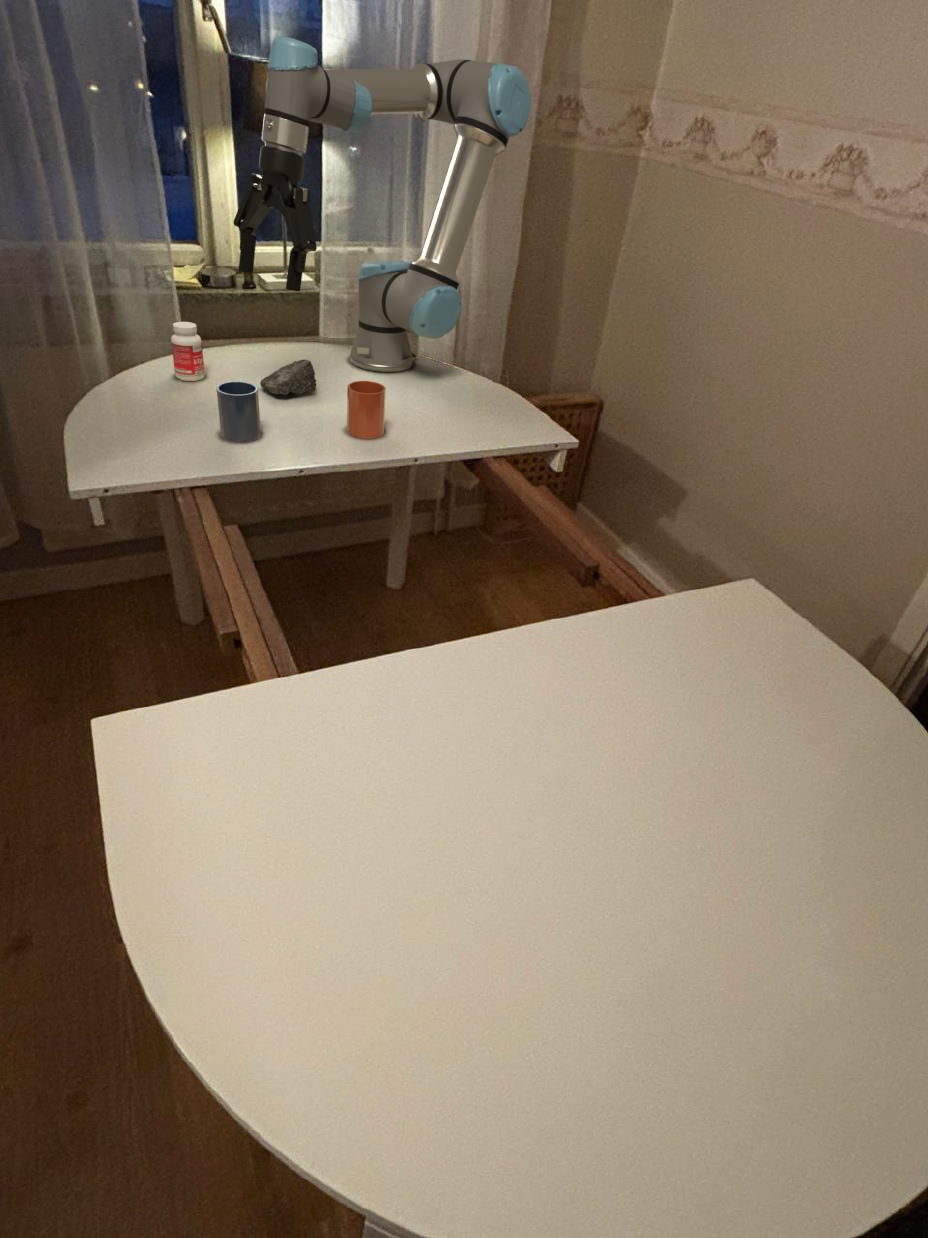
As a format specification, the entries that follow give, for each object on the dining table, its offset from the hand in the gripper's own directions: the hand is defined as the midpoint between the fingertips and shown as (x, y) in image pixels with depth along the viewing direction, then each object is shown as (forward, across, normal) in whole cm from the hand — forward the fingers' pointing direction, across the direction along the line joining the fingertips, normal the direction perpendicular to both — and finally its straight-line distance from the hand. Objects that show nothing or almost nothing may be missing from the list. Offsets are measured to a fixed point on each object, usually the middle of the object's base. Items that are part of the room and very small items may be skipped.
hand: (268, 281), depth 137 cm
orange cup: (+22, +20, +12) cm, 32 cm away
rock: (+23, -6, +14) cm, 27 cm away
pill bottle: (+25, -25, +2) cm, 35 cm away
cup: (+27, +7, -8) cm, 29 cm away
